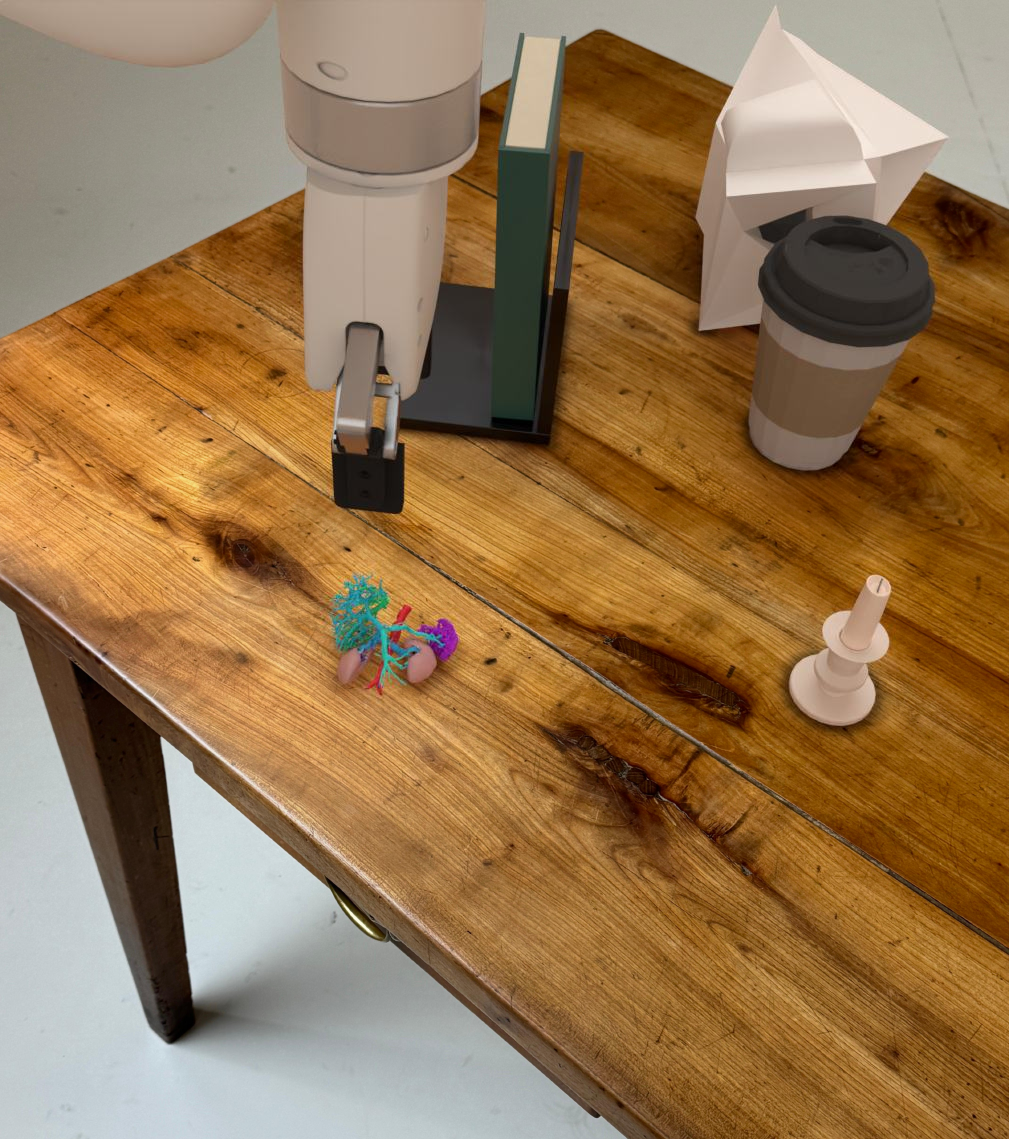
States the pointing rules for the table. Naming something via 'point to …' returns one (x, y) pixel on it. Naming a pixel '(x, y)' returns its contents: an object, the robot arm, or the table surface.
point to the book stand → (491, 351)
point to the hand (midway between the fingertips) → (385, 436)
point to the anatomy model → (416, 651)
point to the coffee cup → (831, 334)
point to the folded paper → (796, 165)
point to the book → (525, 223)
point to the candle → (844, 661)
